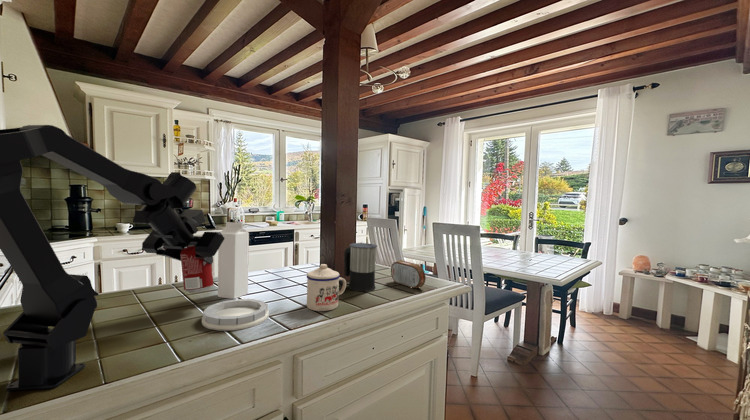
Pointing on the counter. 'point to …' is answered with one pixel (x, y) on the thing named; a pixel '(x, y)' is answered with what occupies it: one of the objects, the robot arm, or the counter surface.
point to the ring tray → (235, 314)
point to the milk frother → (360, 266)
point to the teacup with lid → (323, 289)
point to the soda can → (195, 271)
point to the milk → (233, 261)
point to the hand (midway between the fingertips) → (199, 261)
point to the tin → (408, 274)
